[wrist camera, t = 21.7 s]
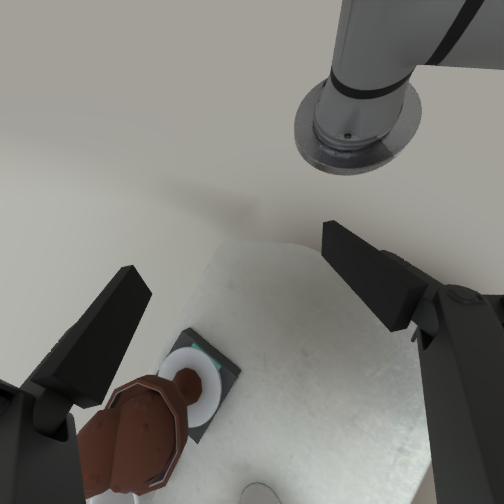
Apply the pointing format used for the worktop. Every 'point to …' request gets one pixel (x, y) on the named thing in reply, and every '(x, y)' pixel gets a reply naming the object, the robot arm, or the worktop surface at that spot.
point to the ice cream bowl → (138, 435)
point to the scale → (209, 370)
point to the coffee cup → (258, 495)
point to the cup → (121, 498)
